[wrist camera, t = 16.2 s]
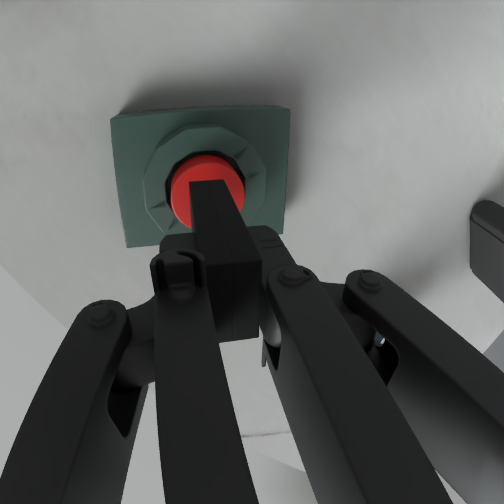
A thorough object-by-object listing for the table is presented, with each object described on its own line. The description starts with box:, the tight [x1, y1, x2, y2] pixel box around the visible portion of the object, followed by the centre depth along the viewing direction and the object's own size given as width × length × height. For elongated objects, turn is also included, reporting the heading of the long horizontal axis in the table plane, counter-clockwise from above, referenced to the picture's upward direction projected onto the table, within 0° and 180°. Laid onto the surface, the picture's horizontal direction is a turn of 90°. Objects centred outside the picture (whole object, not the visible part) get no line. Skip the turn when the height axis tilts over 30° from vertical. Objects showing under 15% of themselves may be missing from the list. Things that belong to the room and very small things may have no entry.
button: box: [171, 155, 245, 228], centre depth 16 cm, size 4×4×2 cm
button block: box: [110, 106, 290, 248], centre depth 18 cm, size 10×8×4 cm
